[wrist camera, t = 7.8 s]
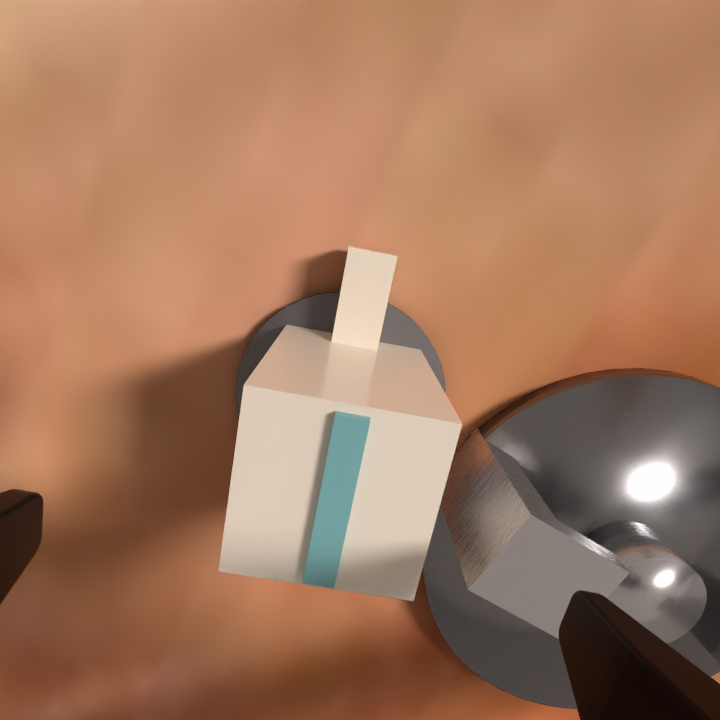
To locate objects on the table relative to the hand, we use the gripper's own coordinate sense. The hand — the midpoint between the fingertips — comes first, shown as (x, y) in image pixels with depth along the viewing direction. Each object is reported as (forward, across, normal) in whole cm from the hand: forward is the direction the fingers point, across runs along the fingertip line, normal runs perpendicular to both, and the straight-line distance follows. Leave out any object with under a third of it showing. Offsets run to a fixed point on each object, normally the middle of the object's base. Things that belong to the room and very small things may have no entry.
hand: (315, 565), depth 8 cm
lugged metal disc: (+8, -11, +4) cm, 15 cm away
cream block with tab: (+8, 0, 0) cm, 8 cm away
